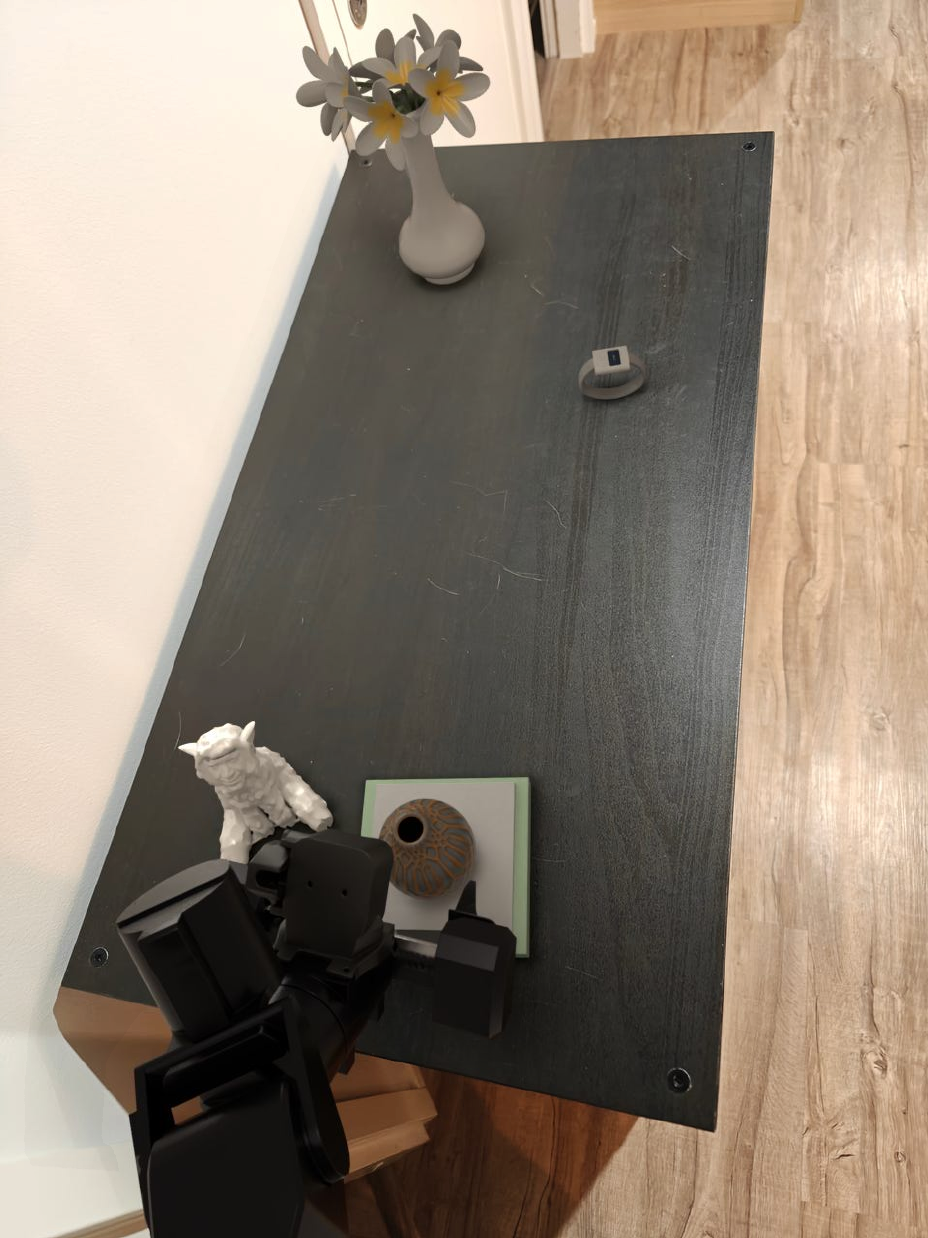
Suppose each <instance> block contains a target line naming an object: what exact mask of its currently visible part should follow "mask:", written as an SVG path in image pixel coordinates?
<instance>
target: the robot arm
mask: <svg viewBox="0 0 928 1238" xmlns="http://www.w3.org/2000/svg"><path fill="white" fill-rule="evenodd" d="M393 863H394V854H393V850H392V848H391V847H390V845H389V844H388V843H387V842H385V841H383V840H381V839H377V838H370V837H364V836H361V834H355V833H350V832H346V831H342V830H340V829H336V828H327V829H325V830H322V831H320V832H317V831H316V832H314V833H308V832H307V833H306V832H302V831H299V830H298V831H297V830H292V829H288V828H285V829H284V831H283V833H282V835H281V839H280V840H279V839H274V840H271V841H268V842H266V843H265V844H263V845H262V846H261V848H260V849H259V850H258V851H257V853H256V854H255V855H254V856H253V858H252V859H251V860H249V862H248V863H247V864H243V863H238V862H234V861H230V860H229V861H228V860H227V859H220V858H215V859H210V860H207V861H204V862H201V863H198V864H195V865H193V866H190V867H188V868H185V869H184V870H182V871H180V872H178V873H176V874H174V875H172V876H169V877H168V878H167V879H164V880H163V881H161V882H160V883H158V884H156V885H154V886H153V887H151V888H150V889H149V890H147V891H146V892H144V893H143V894H141V895H139V897H137V898H136V899H135V900H134V901H132V902H131V903H130V904H129V905H128V906H127V907H126V908H125V909H124V910H123V911H122V912H121V914H120V915H119V916H118V917H117V919H116V920H115V925H116V931H117V933H118V936H119V937H120V939H121V940H122V943H123V944H124V947H125V948H126V950H127V952H128V954H129V956H130V958H131V959H132V962H133V963H134V965H135V967H136V968H137V970H138V973H139V974H140V976H141V978H142V980H143V981H144V983H145V985H146V987H147V989H148V991H149V993H150V994H151V996H152V998H153V1001H154V1002H155V1004H156V1006H157V1008H158V1009H159V1011H160V1013H161V1016H162V1017H163V1018H164V1020H165V1023H166V1025H167V1026H168V1028H169V1030H170V1032H171V1039H170V1041H169V1045H168V1047H167V1050H166V1051H165V1052H162V1053H161V1054H159V1055H157V1056H155V1057H153V1058H150V1059H147V1060H146V1061H144V1062H141V1063H139V1064H137V1065H136V1066H134V1068H133V1079H134V1082H133V1083H134V1092H135V1094H134V1095H135V1108H136V1110H135V1111H134V1112H133V1111H132V1112H130V1113H129V1114H128V1121H129V1127H130V1134H131V1140H132V1146H133V1153H134V1159H135V1160H134V1161H135V1166H136V1173H137V1178H138V1187H139V1193H140V1198H141V1199H140V1200H141V1205H142V1212H143V1218H144V1221H145V1224H146V1226H147V1229H148V1232H149V1238H351V1237H350V1228H349V1217H348V1207H347V1197H346V1188H345V1178H346V1177H347V1176H349V1174H350V1168H351V1159H350V1150H349V1144H348V1140H347V1135H346V1132H345V1129H344V1125H343V1122H342V1118H341V1115H340V1113H339V1109H338V1106H337V1103H336V1100H335V1097H334V1094H333V1090H332V1088H331V1084H332V1083H333V1081H334V1079H335V1077H336V1076H337V1074H340V1075H344V1076H348V1074H349V1072H350V1070H351V1069H352V1068H353V1066H354V1064H355V1063H356V1042H357V1041H358V1039H359V1038H360V1036H361V1034H362V1033H363V1030H364V1029H365V1028H366V1026H367V1024H368V1022H369V1021H370V1022H373V1023H376V1024H377V1023H379V1020H380V1019H381V1017H382V1016H383V1014H384V1012H385V1003H386V1001H385V999H386V998H385V997H386V992H387V990H388V989H389V987H390V985H391V984H392V982H393V980H394V981H399V982H403V983H407V984H411V985H414V986H418V987H422V988H425V989H430V990H432V998H431V1000H432V1001H431V1023H432V1024H435V1025H438V1026H442V1027H445V1028H449V1029H452V1030H455V1031H459V1032H463V1033H467V1034H469V1035H470V1034H471V1035H474V1036H478V1037H482V1038H485V1039H489V1040H492V1041H493V1040H494V1039H496V1038H497V1037H498V1036H499V1035H501V1034H503V1032H505V1030H506V1027H507V1025H508V1022H509V1019H510V1017H511V1014H512V1007H513V994H514V982H515V981H514V980H515V970H516V969H515V968H516V958H517V957H516V944H517V937H516V936H515V935H514V934H513V933H512V931H511V930H510V929H509V928H508V927H505V926H501V925H497V924H495V922H494V921H493V920H491V919H489V918H486V917H482V916H478V915H477V912H476V881H473V880H470V881H469V882H468V884H467V885H466V886H465V888H464V889H463V892H462V894H461V896H460V899H459V901H458V904H457V906H456V909H455V910H453V909H449V910H448V921H447V922H446V924H445V926H444V927H443V929H442V931H441V933H440V937H439V941H438V944H435V943H431V942H427V941H423V940H419V939H415V938H411V937H407V936H403V935H399V934H395V933H394V932H395V924H391V923H387V922H383V920H382V919H383V917H384V913H385V908H386V901H387V895H388V888H389V882H390V875H391V871H392V868H393ZM198 1097H199V1098H200V1099H199V1108H200V1110H201V1112H199V1113H197V1114H195V1115H192V1116H190V1117H188V1118H186V1119H184V1120H182V1121H179V1122H177V1123H176V1122H175V1117H174V1113H173V1108H177V1107H178V1106H181V1105H183V1104H185V1103H187V1102H189V1101H191V1100H195V1099H196V1098H198Z"/></svg>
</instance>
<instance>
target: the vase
mask: <svg viewBox="0 0 928 1238" xmlns="http://www.w3.org/2000/svg"><path fill="white" fill-rule="evenodd" d="M378 839H381V840H383V841H385V842H387V843H388V844H389V845H390V847H391V848H392V850H393V854H394V863H393V868H392V871H391V875H390V883H391V884H392V885H393V886H394V887H395V888H397V889H398V890H399V891H401V892H402V893H404V894H405V895H408V896H410V897H412V898H415V899H420V900H436V899H441V898H444V897H446V896H449V895H450V894H452V893H454V892H455V891H457V890H458V889H459V888H460V887H461V886H462V885H463V884H464V883H465V882H466V880H467V879H468V877H469V876H470V874H471V872H472V870H473V867H474V863H475V858H476V843H475V838H474V835H473V832H472V829H471V827H470V825H469V824H468V822H467V820H466V819H465V818H464V816H463V815H462V814H461V813H460V812H459V811H458V810H457V809H455V808H454V807H452V806H451V805H449V804H447V803H445V802H443V801H439V800H436V799H427V798H423V799H416V800H412V801H409V802H406V803H404V804H402V805H401V806H399V807H398V808H396V809H395V810H394V811H393V812H392V813H391V814H390V815H389V816H388V817H387V819H386V820H385V822H384V824H383V826H382V828H381V831H380V834H379V838H378Z"/></svg>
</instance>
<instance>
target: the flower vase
mask: <svg viewBox="0 0 928 1238" xmlns="http://www.w3.org/2000/svg"><path fill="white" fill-rule="evenodd" d="M412 19H413V22H414V24H415V26H416V28H413V29H410V30H409V31H408V32H407V33H406V34H404V35H403V36H402V37H400V38H399V39H398V41H396V43H395V39H394V35H393V32H392V31H391V30H390V29H389V28H386V27H384V28H383V29H381V30H380V31H379V33H378V35H377V37H376V39H375V44H374V50H375V55H376V57H368V58H365V59H363V60H360V61H357V62H355V63H354V64H352V65H351V66H350V67H348V65H345V63H344V61H343V59H342V56H341V55H340V52H339V49H338V48H337V47H336V46H334V47H333V48H332V53H331V54H330V56H329V57H328V61H327V63H325V61H323V59H322V58H321V57H320V56H319V54H318V53H317V52H316V51H315V50H314V49H313V48H312V47H310V46H308V45H304V46H303V47H302V50H301V51H302V52H301V53H302V58H303V62H304V64H305V67H306V68H307V70H308V71H309V73H310V74H311V75H312V76H313V77H314V78H316V80H310V81H308V82H305V83H304V84H302V85H300V86H299V88H298V89H297V91H296V93H295V99H296V102H297V104H298V105H300V106H302V107H304V108H315V107H318V106H321V105H323V106H322V107H321V110H320V117H319V118H320V119H319V120H320V127H321V131H322V134H323V135H324V136H325V137H329V136H330V139H331V142H332V143H334V142H335V141H336V139H337V138H338V136H339V135H340V134H341V132H343V134H346V133H347V130H348V127H349V125H350V123H351V121H352V118H354V119H356V120H358V121H360V122H363V123H368V124H366V125H365V126H363V128H362V129H361V130H360V132H358V135H357V137H356V139H355V142H354V149H355V152H356V153H357V154H358V156H361V157H368V156H370V155H373V154H374V153H375V152H376V151H378V150H379V148H380V147H382V145H383V144H384V150H385V153H386V156H387V158H388V161H389V163H390V164H391V165H392V166H393V167H394V169H395V170H397V171H399V172H401V171H404V170H405V169H407V173H408V174H407V175H408V177H409V182H410V187H411V195H412V203H411V211H410V213H409V214H408V215H407V217H406V218H405V220H404V222H403V224H402V225H401V228H400V231H399V235H398V241H397V243H398V246H397V247H398V253H399V257H400V259H401V260H402V262H403V264H404V265H405V267H407V268H408V269H409V270H410V271H412V273H414V274H415V275H418V276H420V277H422V278H423V279H425V281H427V282H429V283H431V284H434V285H439V286H441V285H442V286H443V285H451V284H455V283H457V282H459V281H461V280H463V279H465V278H466V277H467V276H468V275H469V274H470V273H471V272H472V271H473V268H474V266H475V263H476V261H478V259H479V257H480V255H481V253H482V252H483V249H484V246H485V242H486V241H485V240H486V232H485V231H486V230H485V227H484V224H483V221H482V220H481V219H480V217H479V216H478V214H477V212H475V210H474V209H472V208H470V207H469V206H468V205H467V204H465V203H464V202H461V201H459V200H456V199H455V198H454V197H453V196H452V195H451V193H450V192H449V190H448V187H447V186H446V184H445V181H444V178H443V175H442V171H441V169H440V165H439V162H438V159H437V154H436V151H435V147H434V144H433V139H432V138H433V137H432V136H433V135H434V134H435V133H437V131H439V130H440V128H442V125H443V124H444V121H445V118H446V120H447V121H448V122H449V124H450V125H451V126H452V127H453V129H454V130H455V131H456V132H457V133H458V134H459V135H461V136H462V137H463V138H466V139H471V138H473V137H474V136H475V134H476V130H477V129H476V128H477V125H476V120H475V118H474V116H473V113H472V112H471V110H470V109H469V107H468V106H467V105H466V104H465V103H464V102H469V101H473V100H476V99H478V98H480V97H481V96H483V95H484V94H485V93H487V91H488V90H489V88H490V86H491V78H490V77H489V75H487V74H486V73H483V71H484V67H483V66H482V65H481V64H480V63H478V62H477V61H475V60H473V59H472V58H470V57H466V56H460V49H461V47H462V37H461V36H460V34H459V33H458V32H457V31H456V30H454V29H450V28H447V29H444V30H443V31H441V32H440V34H439V35H438V37H437V39H436V41H435V34H434V32H433V30H432V28H431V27H430V25H429V24H428V23H427V22H426V21H425V19H423V18H422V16H420V15H418V14H417V13H412ZM417 32H418V34H419V35H417ZM414 40H416V41H417V43H418V44H419V46H420V48H421V49H422V51H423V52H422V53H421V54H420V55H419V56H418V59H417V47H416V44H415V41H414ZM464 72H468V73H464ZM463 73H464V74H463ZM458 74H460V75H459V76H458ZM353 78H357V79H368V80H365V81H354V79H353ZM393 90H397V91H395V92H394V91H393ZM368 92H371V96H370V95H365V94H366V93H368ZM384 142H385V143H384Z"/></svg>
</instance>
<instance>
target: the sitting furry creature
mask: <svg viewBox="0 0 928 1238" xmlns="http://www.w3.org/2000/svg"><path fill="white" fill-rule="evenodd" d="M255 725H256V721H253V720H252V721H250V722H248V723H247V725H245V727H244V728H242V727H240V726H238V725H234V724H233V723H228V722H227V723H225V724H224V725H221V726H214V727H213V728H212V729H211V730H209V731H207V732H205V733H203V734H201V736H200V737H199V739H198V740H197V741H196V742H188V743H185V744H182V745H179V746H178V747H177V748H178V749H179V750H180V751H182V752H184V753H186V754H188V755H191V756H192V757H193V758H194V763H195V764H194V769H195V770H196V776H197V778H198V779H203V780H204V781H205V782H207V783H208V785H209V786H214V792H215V794H217V798H218V800H219V801H220V803H221V806H222V808H223V821H222V830H221V834H220V836H219V839H218V842H219V843H220V849H219V850H220V858H219V859H227V860H228V861H229V860H230V861H234V862H238V863H243V864H247V863H249V862H250V851H251V850H252V846H253V845H255V844H256V843H258V842H259V841H261V840H263V839H267V838H268V836H273V835H274V834H275V830H276V829H275V828H276V827H280V828H282V829H288V828H287V827H290V828H292V827H294V826H295V825H296V823H298V822H301V823H303V824H305V825H308V826H309V828H310V829H312V830H313V831H315V832H316V833H317V832H320V831H322V830H325V829H328V827H329V828H332V825H333V823H334V817H333V815H332V812H331V811H330V809H329V808H328V803H327V802H326V801H325V800H324V799H323V798H322V796H321V795H319V794H318V793H316V792H315V790H313V789H312V787H311V786H310V784H308V783H307V782H306V781H305V780H303V778H302V776H301V775H298V774H297V772H296V770H295V769H294V767H292V766H291V765H290V763H288V762H287V761H286V759H285V757H282V756H281V753H280V752H276V751H272V750H271V749H269V748H268V747H267V746H262V747H259V746H258V747H257V746H256V747H255V745H254V741H255V736H256V731H255ZM266 814H268V816H267V815H266Z"/></svg>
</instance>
